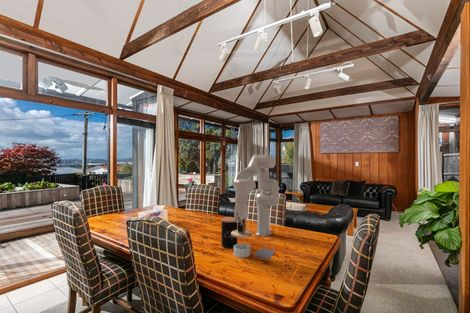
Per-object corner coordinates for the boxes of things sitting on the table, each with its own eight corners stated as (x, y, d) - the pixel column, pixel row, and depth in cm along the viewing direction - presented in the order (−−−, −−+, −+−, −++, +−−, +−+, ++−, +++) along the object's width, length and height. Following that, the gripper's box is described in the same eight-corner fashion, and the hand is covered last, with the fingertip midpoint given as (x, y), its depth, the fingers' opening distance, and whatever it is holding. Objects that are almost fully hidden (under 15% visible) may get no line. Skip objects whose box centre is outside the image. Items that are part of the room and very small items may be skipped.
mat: (261, 248, 147) (261, 247, 147) (276, 251, 142) (276, 250, 142) (252, 257, 135) (252, 256, 135) (268, 260, 130) (268, 259, 130)
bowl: (238, 250, 145) (238, 242, 145) (252, 253, 140) (252, 245, 140) (230, 256, 136) (230, 247, 136) (245, 259, 132) (245, 251, 132)
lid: (237, 230, 147) (237, 219, 147) (255, 233, 141) (255, 221, 141) (227, 235, 136) (227, 224, 136) (246, 239, 129) (246, 227, 130)
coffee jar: (223, 249, 146) (223, 221, 147) (220, 243, 157) (219, 217, 157) (239, 247, 149) (239, 220, 149) (235, 242, 159) (234, 216, 160)
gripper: (242, 198, 148) (242, 226, 147) (229, 202, 133) (229, 233, 133) (252, 198, 144) (252, 228, 144) (240, 203, 130) (241, 235, 129)
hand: (241, 230), depth 138 cm, fingers closed on lid, 3 cm apart
